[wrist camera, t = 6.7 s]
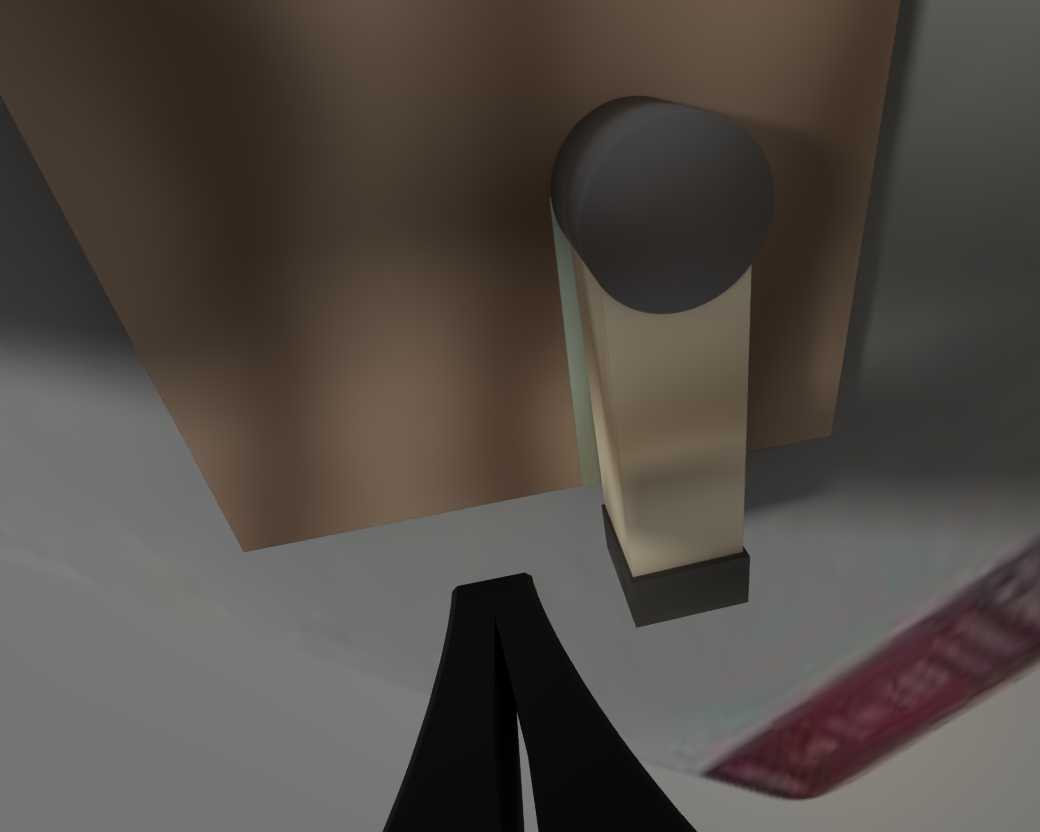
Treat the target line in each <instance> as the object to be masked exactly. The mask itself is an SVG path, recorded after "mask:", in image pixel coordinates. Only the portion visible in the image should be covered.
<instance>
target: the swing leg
mask: <svg viewBox="0 0 1040 832" xmlns="http://www.w3.org/2000/svg"><path fill="white" fill-rule="evenodd" d="M551 202H552V207H553V211H554V214H555V217H556V220H557V223H558V225H559V227H560V228H561V230H562V232H563V233H564V235H565V236H566V238H567V239H568V240H569V242H570V245H571V252H572V260H573V267H574V275H575V282H576V290H577V298H578V305H579V313H580V320H581V328H582V335H583V343H584V350H585V358H586V366H587V373H588V381H589V388H590V396H591V403H592V411H593V419H594V426H595V434H596V441H597V449H598V456H599V464H600V471H601V479H602V487H603V494H604V502H605V504H604V505H602V511H603V519H604V526H605V533H606V541H607V547H608V550H609V553H610V556H611V558H612V561H613V564H614V567H615V570H616V572H617V575H618V578H619V581H620V583H621V586H622V589H623V592H624V595H625V597H626V600H627V603H628V606H629V608H630V611H631V614H632V617H633V620H634V622H635V625H636V628H637V627H641V626H646V625H650V624H654V623H659V622H663V621H668V620H672V619H676V618H681V617H685V616H689V615H694V614H698V613H702V612H707V611H711V610H715V609H720V608H724V607H728V606H733V605H737V604H741V603H746V602H748V592H749V567H750V556H749V554H748V553H747V551H746V550H745V548H744V546H743V532H744V499H745V465H746V432H747V399H748V365H749V332H750V299H751V266H752V263H753V261H754V260H755V258H756V257H757V255H758V253H759V252H760V250H761V248H762V246H763V243H764V241H765V239H766V236H767V234H768V231H769V228H770V224H771V220H772V215H773V208H774V184H773V178H772V173H771V170H770V166H769V163H768V161H767V159H766V156H765V154H764V152H763V150H762V149H761V147H760V146H759V144H758V143H757V141H756V140H755V139H754V138H753V137H752V136H751V135H750V134H749V133H748V132H747V131H746V130H744V129H743V128H742V127H740V126H739V125H738V124H736V123H734V122H732V121H730V120H728V119H726V118H723V117H720V116H717V115H714V114H711V113H707V112H704V111H700V110H697V109H693V108H690V107H686V106H683V105H679V104H676V103H672V102H669V101H665V100H662V99H658V98H655V97H649V96H627V97H621V98H618V99H614V100H611V101H609V102H607V103H604V104H602V105H600V106H599V107H597V108H595V109H594V110H592V111H591V112H590V113H588V114H587V115H586V116H585V117H583V118H582V119H581V120H580V121H579V122H578V123H577V124H576V125H575V126H574V128H573V129H572V130H571V132H570V133H569V134H568V136H567V137H566V139H565V141H564V142H563V144H562V146H561V148H560V150H559V152H558V155H557V157H556V160H555V164H554V167H553V172H552V178H551Z"/></svg>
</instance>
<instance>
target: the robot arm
mask: <svg viewBox="0 0 1040 832" xmlns="http://www.w3.org/2000/svg"><path fill="white" fill-rule="evenodd" d="M517 713H518V717H519V721H520V725H521V730H522V734H523V738H524V742H525V746H526V750H527V754H528V759H529V767H530V774H531V781H532V788H533V795H534V802H535V809H536V816H537V824H538V831H539V832H697V831H696V830H695V829H694V828H693V827H692V825H691V824H690V823H689V822H688V821H687V820H686V819H685V817H684V816H683V815H682V814H681V813H680V812H679V811H678V809H677V808H676V807H675V806H674V805H673V803H672V802H671V801H670V800H669V798H668V797H667V796H666V795H665V794H664V792H663V791H662V790H661V789H660V787H659V786H658V785H657V784H656V782H655V781H654V780H653V779H652V777H651V776H650V775H649V774H648V772H647V771H646V770H645V768H644V767H643V766H642V765H641V763H640V762H639V761H638V759H637V758H636V757H635V755H634V754H633V753H632V752H631V750H630V749H629V747H628V746H627V745H626V743H625V742H624V741H623V739H622V738H621V737H620V735H619V734H618V732H617V731H616V730H615V728H614V727H613V725H612V724H611V723H610V721H609V720H608V718H607V717H606V715H605V714H604V712H603V711H602V709H601V708H600V706H599V705H598V703H597V702H596V700H595V699H594V697H593V696H592V694H591V693H590V691H589V690H588V688H587V687H586V685H585V683H584V682H583V680H582V679H581V677H580V675H579V674H578V672H577V670H576V668H575V667H574V665H573V663H572V662H571V660H570V658H569V657H568V655H567V653H566V652H565V650H564V648H563V646H562V645H561V643H560V641H559V639H558V637H557V635H556V633H555V631H554V629H553V627H552V625H551V623H550V621H549V619H548V617H547V615H546V613H545V611H544V609H543V607H542V604H541V602H540V599H539V597H538V594H537V591H536V589H535V586H534V583H533V579H532V576H531V575H529V574H527V573H520V574H515V575H510V576H505V577H500V578H495V579H490V580H485V581H480V582H475V583H470V584H465V585H460V586H457V587H456V588H455V589H454V590H453V591H452V599H451V609H450V615H449V622H448V627H447V633H446V638H445V642H444V647H443V651H442V656H441V660H440V664H439V668H438V671H437V675H436V679H435V683H434V686H433V690H432V694H431V697H430V701H429V705H428V708H427V711H426V714H425V718H424V720H423V723H422V727H421V730H420V733H419V736H418V739H417V742H416V745H415V748H414V751H413V754H412V757H411V760H410V763H409V765H408V768H407V771H406V774H405V776H404V779H403V782H402V784H401V787H400V790H399V792H398V795H397V798H396V800H395V803H394V805H393V807H392V810H391V812H390V815H389V817H388V820H387V822H386V825H385V827H384V830H383V832H524V817H523V801H522V785H521V771H520V754H519V739H518V724H517Z"/></svg>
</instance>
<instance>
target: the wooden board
mask: <svg viewBox="0 0 1040 832" xmlns="http://www.w3.org/2000/svg"><path fill="white" fill-rule="evenodd" d="M900 2H901V0H0V96H1V97H2V99H3V101H4V103H5V105H6V107H7V109H8V111H9V112H10V114H11V116H12V118H13V120H14V122H15V124H16V126H17V127H18V129H19V131H20V133H21V135H22V137H23V139H24V141H25V142H26V144H27V146H28V148H29V150H30V152H31V154H32V156H33V157H34V159H35V161H36V163H37V165H38V167H39V169H40V171H41V172H42V174H43V176H44V178H45V180H46V182H47V184H48V186H49V187H50V189H51V191H52V193H53V195H54V197H55V199H56V201H57V203H58V204H59V206H60V208H61V210H62V212H63V214H64V216H65V218H66V219H67V221H68V223H69V225H70V227H71V229H72V231H73V233H74V234H75V236H76V238H77V240H78V242H79V244H80V246H81V248H82V249H83V251H84V253H85V255H86V257H87V259H88V261H89V263H90V264H91V266H92V268H93V270H94V272H95V274H96V276H97V278H98V279H99V281H100V283H101V285H102V287H103V289H104V291H105V293H106V294H107V296H108V298H109V300H110V302H111V304H112V306H113V308H114V309H115V311H116V313H117V315H118V317H119V319H120V321H121V323H122V324H123V326H124V328H125V330H126V332H127V334H128V336H129V338H130V339H131V341H132V343H133V345H134V347H135V349H136V351H137V353H138V355H139V356H140V358H141V360H142V362H143V364H144V366H145V368H146V370H147V371H148V373H149V375H150V377H151V379H152V381H153V383H154V385H155V386H156V388H157V390H158V392H159V394H160V396H161V398H162V400H163V401H164V403H165V405H166V407H167V409H168V411H169V413H170V415H171V416H172V418H173V420H174V422H175V424H176V426H177V428H178V430H179V431H180V433H181V435H182V437H183V439H184V441H185V443H186V445H187V446H188V448H189V450H190V452H191V454H192V456H193V458H194V460H195V461H196V463H197V465H198V467H199V469H200V471H201V473H202V475H203V476H204V478H205V480H206V482H207V484H208V486H209V488H210V490H211V491H212V493H213V495H214V497H215V499H216V501H217V503H218V505H219V507H220V508H221V510H222V512H223V514H224V516H225V518H226V520H227V522H228V523H229V525H230V527H231V529H232V531H233V533H234V535H235V537H236V538H237V540H238V542H239V544H240V546H241V548H242V550H243V552H248V551H253V550H258V549H263V548H268V547H273V546H278V545H283V544H288V543H293V542H298V541H303V540H308V539H313V538H318V537H323V536H328V535H333V534H339V533H344V532H349V531H354V530H359V529H364V528H369V527H374V526H379V525H384V524H389V523H394V522H399V521H404V520H409V519H414V518H419V517H424V516H429V515H434V514H439V513H444V512H449V511H454V510H460V509H465V508H470V507H475V506H480V505H485V504H490V503H495V502H500V501H505V500H510V499H515V498H520V497H525V496H530V495H535V494H540V493H545V492H550V491H555V490H560V489H565V488H570V487H576V486H581V485H582V487H587V486H592V485H597V484H602V479H601V471H600V464H599V456H598V449H597V441H596V434H595V426H594V419H593V411H592V403H591V396H590V388H589V381H588V373H587V366H586V358H585V350H584V343H583V335H582V328H581V320H580V313H579V305H578V298H577V290H576V282H575V275H574V267H573V260H572V252H571V245H570V242H569V240H568V239H567V238H566V236H565V235H564V233H563V232H562V230H561V228H560V227H559V225H558V223H557V220H556V217H555V214H554V211H553V207H552V202H551V178H552V172H553V167H554V164H555V160H556V157H557V155H558V152H559V150H560V148H561V146H562V144H563V142H564V141H565V139H566V137H567V136H568V134H569V133H570V132H571V130H572V129H573V128H574V126H575V125H576V124H577V123H578V122H579V121H580V120H581V119H582V118H583V117H585V116H586V115H587V114H588V113H590V112H591V111H592V110H594V109H595V108H597V107H599V106H600V105H602V104H604V103H607V102H609V101H611V100H614V99H618V98H621V97H627V96H649V97H655V98H658V99H662V100H665V101H669V102H672V103H676V104H679V105H683V106H686V107H690V108H693V109H697V110H700V111H704V112H707V113H711V114H714V115H717V116H720V117H723V118H726V119H728V120H730V121H732V122H734V123H736V124H738V125H739V126H740V127H742V128H743V129H744V130H746V131H747V132H748V133H749V134H750V135H751V136H752V137H753V138H754V139H755V140H756V141H757V143H758V144H759V146H760V147H761V149H762V150H763V152H764V154H765V156H766V159H767V161H768V163H769V166H770V170H771V173H772V178H773V184H774V208H773V215H772V220H771V224H770V228H769V231H768V234H767V236H766V239H765V241H764V243H763V246H762V248H761V250H760V252H759V253H758V255H757V257H756V258H755V260H754V261H753V263H752V266H751V299H750V332H749V365H748V399H747V432H746V453H747V452H752V451H757V450H762V449H767V448H772V447H777V446H782V445H787V444H792V443H797V442H802V441H807V440H812V439H818V438H823V437H828V436H831V434H832V427H833V421H834V415H835V409H836V402H837V396H838V390H839V384H840V377H841V371H842V365H843V359H844V352H845V346H846V340H847V334H848V327H849V321H850V315H851V308H852V302H853V296H854V290H855V283H856V277H857V271H858V265H859V258H860V252H861V246H862V240H863V233H864V227H865V221H866V215H867V208H868V202H869V196H870V190H871V183H872V177H873V171H874V165H875V158H876V152H877V146H878V140H879V133H880V127H881V121H882V114H883V108H884V102H885V96H886V89H887V83H888V77H889V71H890V64H891V58H892V52H893V46H894V39H895V33H896V27H897V21H898V14H899V8H900Z"/></svg>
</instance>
